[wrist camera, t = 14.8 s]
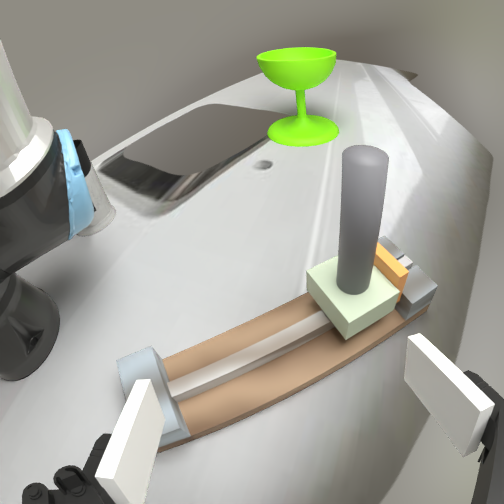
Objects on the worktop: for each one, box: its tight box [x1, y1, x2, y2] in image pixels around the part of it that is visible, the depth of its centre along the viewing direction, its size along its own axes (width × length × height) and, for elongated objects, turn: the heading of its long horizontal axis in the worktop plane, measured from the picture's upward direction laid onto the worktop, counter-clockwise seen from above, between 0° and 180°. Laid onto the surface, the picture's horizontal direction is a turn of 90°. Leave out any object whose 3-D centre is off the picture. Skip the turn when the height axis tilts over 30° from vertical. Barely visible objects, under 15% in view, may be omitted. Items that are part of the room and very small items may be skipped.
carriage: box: [306, 145, 400, 340], centre depth 26 cm, size 7×6×16 cm
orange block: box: [374, 242, 413, 303], centre depth 31 cm, size 6×5×4 cm
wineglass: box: [256, 47, 339, 146], centre depth 61 cm, size 16×16×18 cm
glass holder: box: [73, 140, 116, 236], centre depth 47 cm, size 9×14×15 cm, turn 23°
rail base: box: [116, 236, 438, 452], centre depth 30 cm, size 9×32×4 cm, turn 115°
